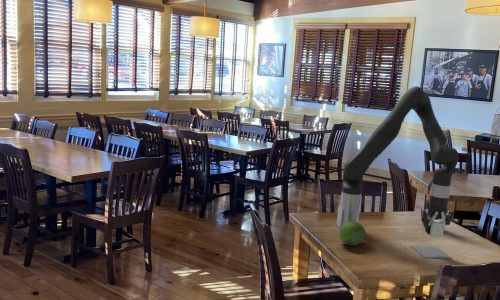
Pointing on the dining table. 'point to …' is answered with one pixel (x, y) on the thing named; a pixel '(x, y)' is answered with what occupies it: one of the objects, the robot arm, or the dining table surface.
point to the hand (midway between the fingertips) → (434, 233)
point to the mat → (431, 252)
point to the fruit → (352, 233)
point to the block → (436, 229)
